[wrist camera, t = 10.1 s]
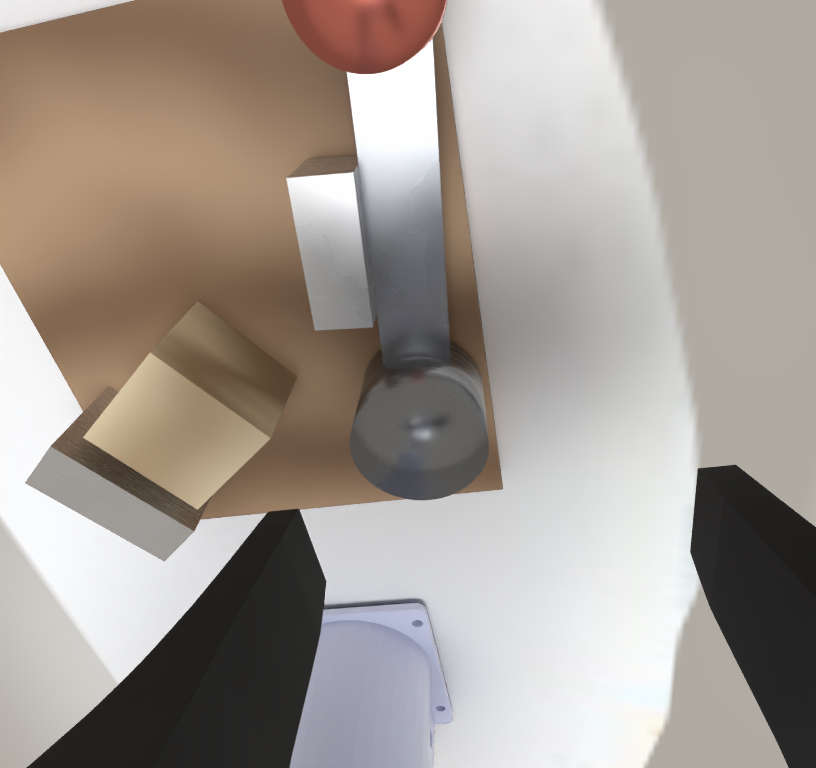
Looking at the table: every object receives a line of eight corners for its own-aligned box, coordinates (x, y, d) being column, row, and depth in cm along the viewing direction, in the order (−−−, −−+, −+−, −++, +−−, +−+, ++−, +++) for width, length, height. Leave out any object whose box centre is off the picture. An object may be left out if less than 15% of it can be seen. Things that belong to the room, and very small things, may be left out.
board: (500, 471, 23) (503, 489, 22) (157, 507, 25) (147, 524, 24) (430, -65, 14) (429, -71, 13) (-85, 59, 16) (-115, 60, 15)
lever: (484, 435, 20) (494, 543, 16) (354, 440, 21) (330, 546, 16) (471, -93, 13) (484, -154, 8) (269, -68, 13) (184, -115, 9)
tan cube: (297, 376, 20) (271, 438, 17) (232, 442, 21) (197, 509, 18) (197, 300, 18) (149, 352, 15) (137, 377, 20) (83, 437, 17)
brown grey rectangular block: (228, 463, 22) (194, 531, 19) (201, 491, 23) (164, 561, 20) (108, 385, 20) (50, 446, 17) (84, 419, 21) (25, 482, 18)
